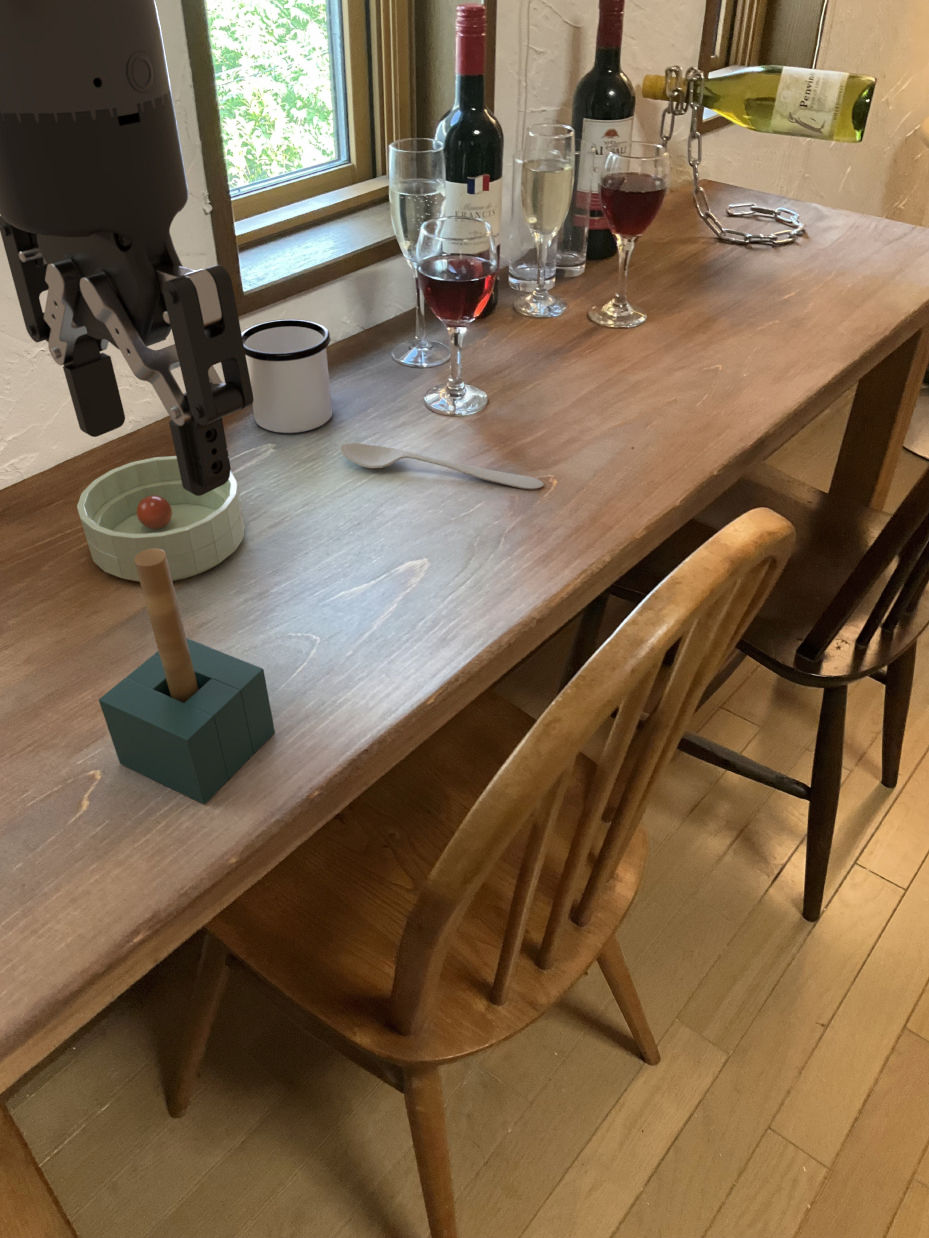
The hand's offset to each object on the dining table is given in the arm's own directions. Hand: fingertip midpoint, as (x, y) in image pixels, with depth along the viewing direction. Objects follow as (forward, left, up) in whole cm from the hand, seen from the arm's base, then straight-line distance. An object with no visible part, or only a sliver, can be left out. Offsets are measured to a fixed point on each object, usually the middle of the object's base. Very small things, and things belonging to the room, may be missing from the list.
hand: (154, 457), depth 47 cm
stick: (+2, +5, -25) cm, 25 cm away
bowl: (+20, +24, -25) cm, 40 cm away
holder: (+2, +5, -25) cm, 25 cm away
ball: (+21, +26, -23) cm, 40 cm away
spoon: (+42, +9, -25) cm, 50 cm away
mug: (+46, +29, -25) cm, 60 cm away
